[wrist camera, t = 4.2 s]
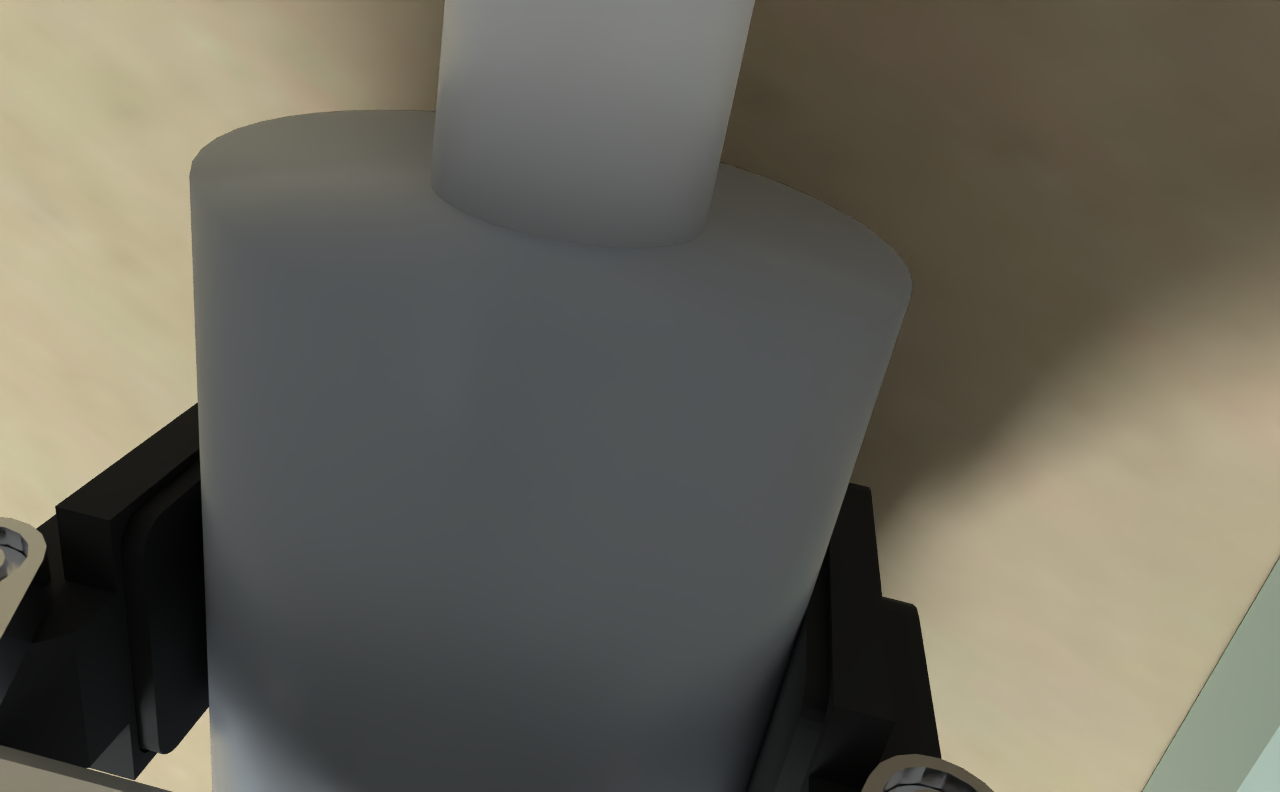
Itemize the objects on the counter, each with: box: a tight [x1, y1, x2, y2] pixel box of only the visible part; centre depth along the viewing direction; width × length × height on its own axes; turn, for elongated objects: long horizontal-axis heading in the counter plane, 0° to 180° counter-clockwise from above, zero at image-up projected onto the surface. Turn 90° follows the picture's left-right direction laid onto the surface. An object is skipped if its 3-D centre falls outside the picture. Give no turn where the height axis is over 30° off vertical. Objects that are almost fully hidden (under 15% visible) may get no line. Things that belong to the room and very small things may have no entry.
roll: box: [189, 0, 913, 792], centre depth 10 cm, size 16×6×6 cm, turn 169°
